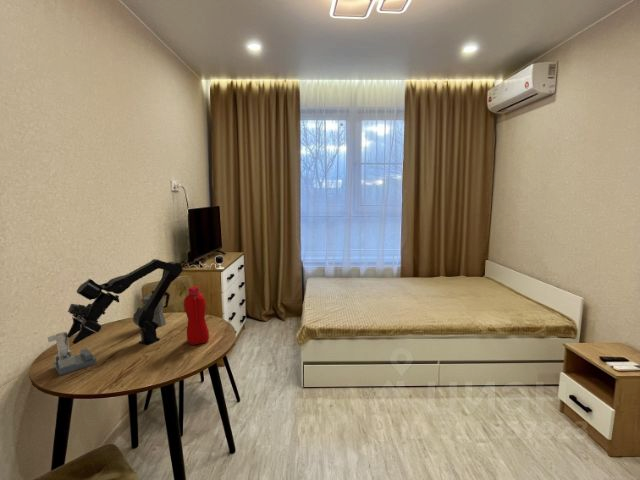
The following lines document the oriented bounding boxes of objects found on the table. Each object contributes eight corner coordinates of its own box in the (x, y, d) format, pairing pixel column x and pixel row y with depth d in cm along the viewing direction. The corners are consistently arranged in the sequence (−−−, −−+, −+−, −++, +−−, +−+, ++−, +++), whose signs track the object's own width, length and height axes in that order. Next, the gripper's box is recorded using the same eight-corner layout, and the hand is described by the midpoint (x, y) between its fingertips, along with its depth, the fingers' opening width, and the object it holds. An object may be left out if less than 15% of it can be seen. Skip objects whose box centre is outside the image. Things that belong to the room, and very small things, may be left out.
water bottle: (188, 348, 148) (182, 292, 145) (186, 339, 158) (182, 286, 155) (210, 344, 152) (206, 289, 149) (208, 335, 162) (203, 283, 159)
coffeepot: (149, 330, 170) (145, 295, 168) (138, 327, 176) (135, 292, 173) (177, 320, 183) (174, 287, 181) (166, 317, 188) (163, 285, 186)
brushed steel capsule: (70, 360, 137) (66, 331, 136) (72, 363, 135) (68, 333, 133) (51, 366, 133) (47, 336, 131) (53, 369, 131) (49, 338, 129)
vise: (89, 356, 145) (88, 344, 144) (96, 363, 138) (95, 351, 137) (54, 367, 136) (52, 355, 136) (59, 375, 129) (57, 363, 129)
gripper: (75, 291, 144) (45, 325, 137) (88, 299, 131) (55, 337, 124) (99, 305, 150) (72, 337, 144) (113, 314, 138) (84, 350, 131)
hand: (70, 340), depth 135 cm, fingers open, 9 cm apart
